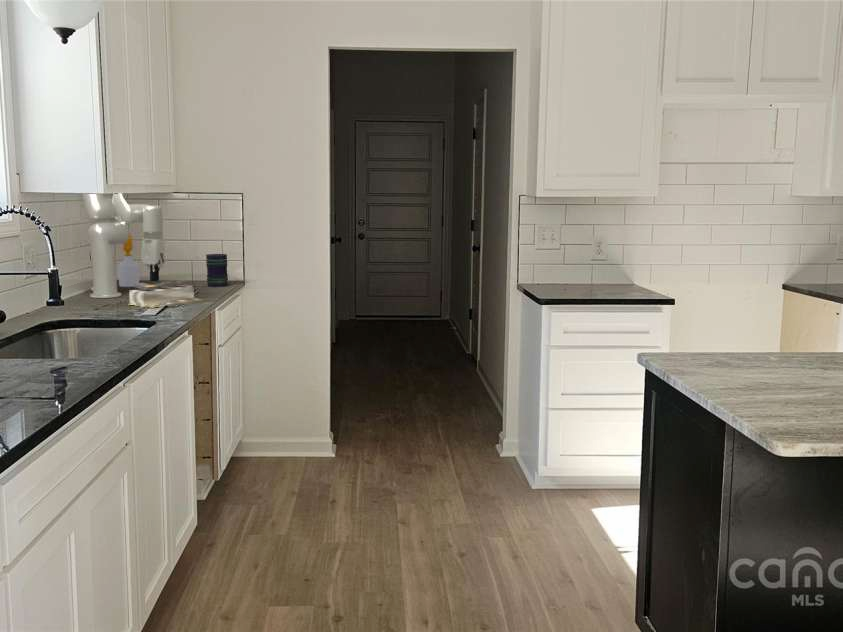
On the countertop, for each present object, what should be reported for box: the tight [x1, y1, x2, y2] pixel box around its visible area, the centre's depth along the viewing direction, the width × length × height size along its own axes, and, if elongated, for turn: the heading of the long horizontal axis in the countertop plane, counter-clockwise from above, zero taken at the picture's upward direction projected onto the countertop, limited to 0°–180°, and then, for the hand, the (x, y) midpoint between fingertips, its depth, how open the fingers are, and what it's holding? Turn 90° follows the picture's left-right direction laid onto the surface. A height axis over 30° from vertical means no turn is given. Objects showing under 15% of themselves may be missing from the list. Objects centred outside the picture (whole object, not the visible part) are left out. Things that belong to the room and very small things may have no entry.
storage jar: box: [205, 253, 229, 288], centre depth 408 cm, size 10×10×15 cm
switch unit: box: [128, 284, 204, 309], centre depth 348 cm, size 15×25×6 cm, turn 142°
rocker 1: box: [132, 282, 157, 290], centre depth 342 cm, size 9×4×1 cm, turn 52°
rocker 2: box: [167, 279, 190, 286], centre depth 355 cm, size 9×4×1 cm, turn 52°
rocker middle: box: [152, 280, 174, 288], centre depth 348 cm, size 9×4×1 cm, turn 52°
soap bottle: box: [117, 233, 140, 288], centre depth 407 cm, size 9×9×25 cm
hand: (154, 280), depth 351 cm, fingers closed
